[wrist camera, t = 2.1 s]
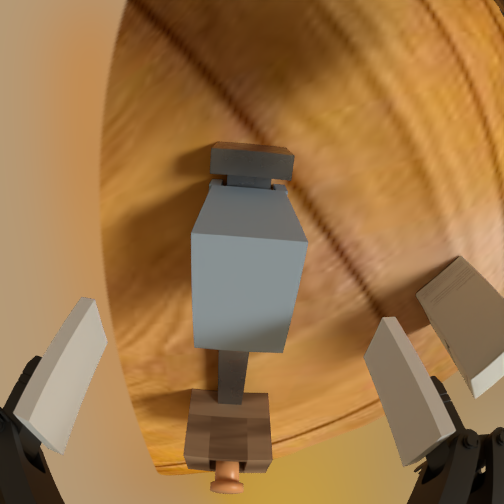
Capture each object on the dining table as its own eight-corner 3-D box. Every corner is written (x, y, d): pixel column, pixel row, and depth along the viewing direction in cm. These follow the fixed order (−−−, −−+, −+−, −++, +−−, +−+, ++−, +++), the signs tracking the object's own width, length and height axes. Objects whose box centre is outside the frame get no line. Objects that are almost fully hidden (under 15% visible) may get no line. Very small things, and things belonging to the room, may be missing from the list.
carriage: (212, 178, 20) (186, 232, 12) (284, 184, 21) (312, 242, 12) (208, 260, 24) (190, 347, 15) (272, 265, 24) (286, 352, 15)
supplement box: (412, 293, 27) (469, 380, 15) (460, 253, 24) (530, 324, 13) (429, 325, 29) (473, 401, 18) (471, 290, 27) (524, 357, 16)
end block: (192, 388, 33) (183, 455, 24) (267, 393, 34) (272, 459, 25) (194, 409, 36) (188, 468, 27) (262, 413, 37) (265, 472, 28)
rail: (217, 141, 19) (211, 148, 16) (285, 147, 20) (294, 155, 16) (211, 390, 33) (208, 415, 30) (249, 392, 34) (249, 418, 30)
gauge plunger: (212, 441, 27) (209, 487, 22) (244, 443, 28) (244, 488, 22) (212, 451, 29) (210, 492, 24) (242, 452, 29) (242, 494, 24)
